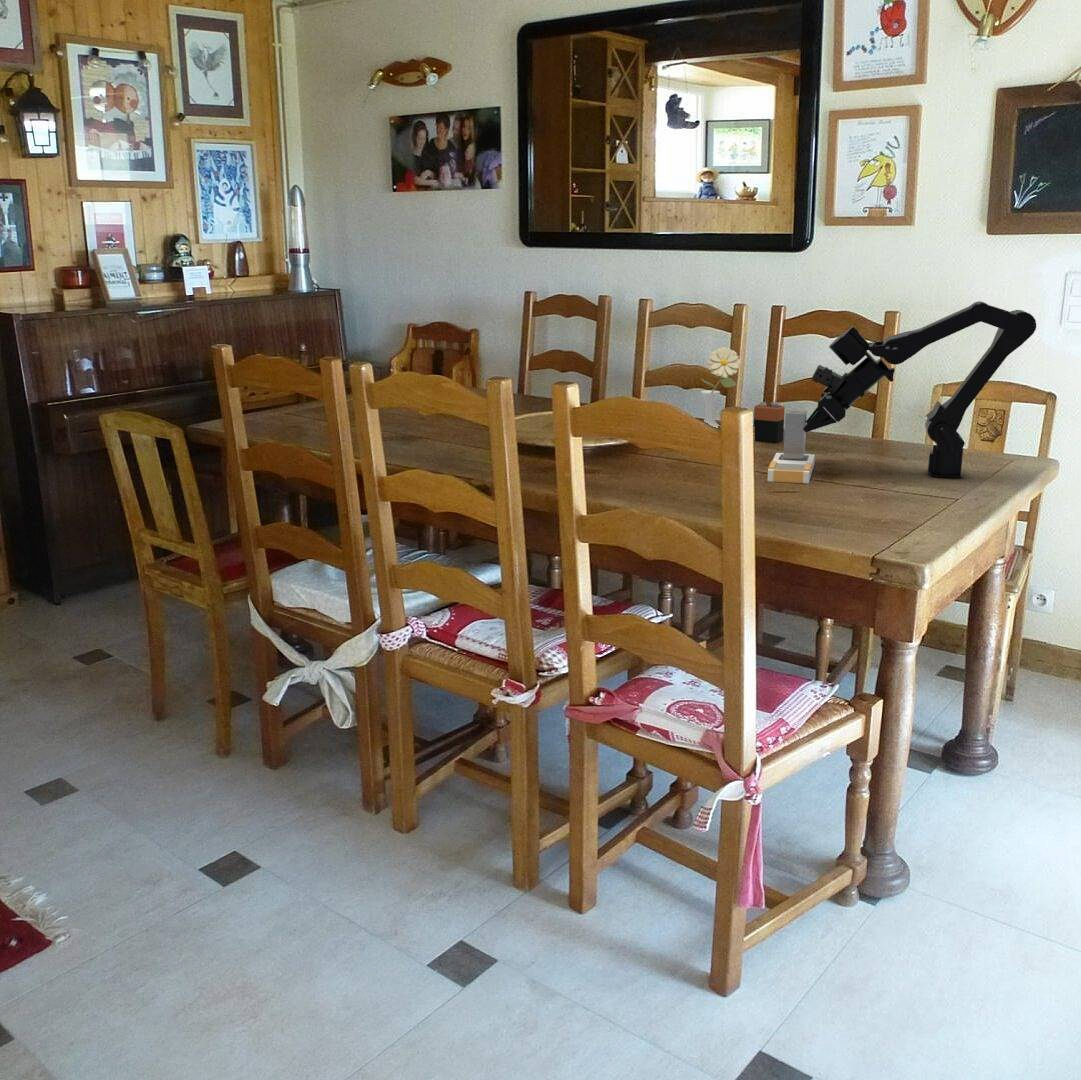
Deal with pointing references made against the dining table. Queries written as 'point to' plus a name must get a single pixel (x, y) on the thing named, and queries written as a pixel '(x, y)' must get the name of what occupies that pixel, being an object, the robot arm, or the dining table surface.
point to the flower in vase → (723, 366)
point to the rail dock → (791, 469)
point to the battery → (769, 422)
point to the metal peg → (794, 435)
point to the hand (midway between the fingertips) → (805, 426)
